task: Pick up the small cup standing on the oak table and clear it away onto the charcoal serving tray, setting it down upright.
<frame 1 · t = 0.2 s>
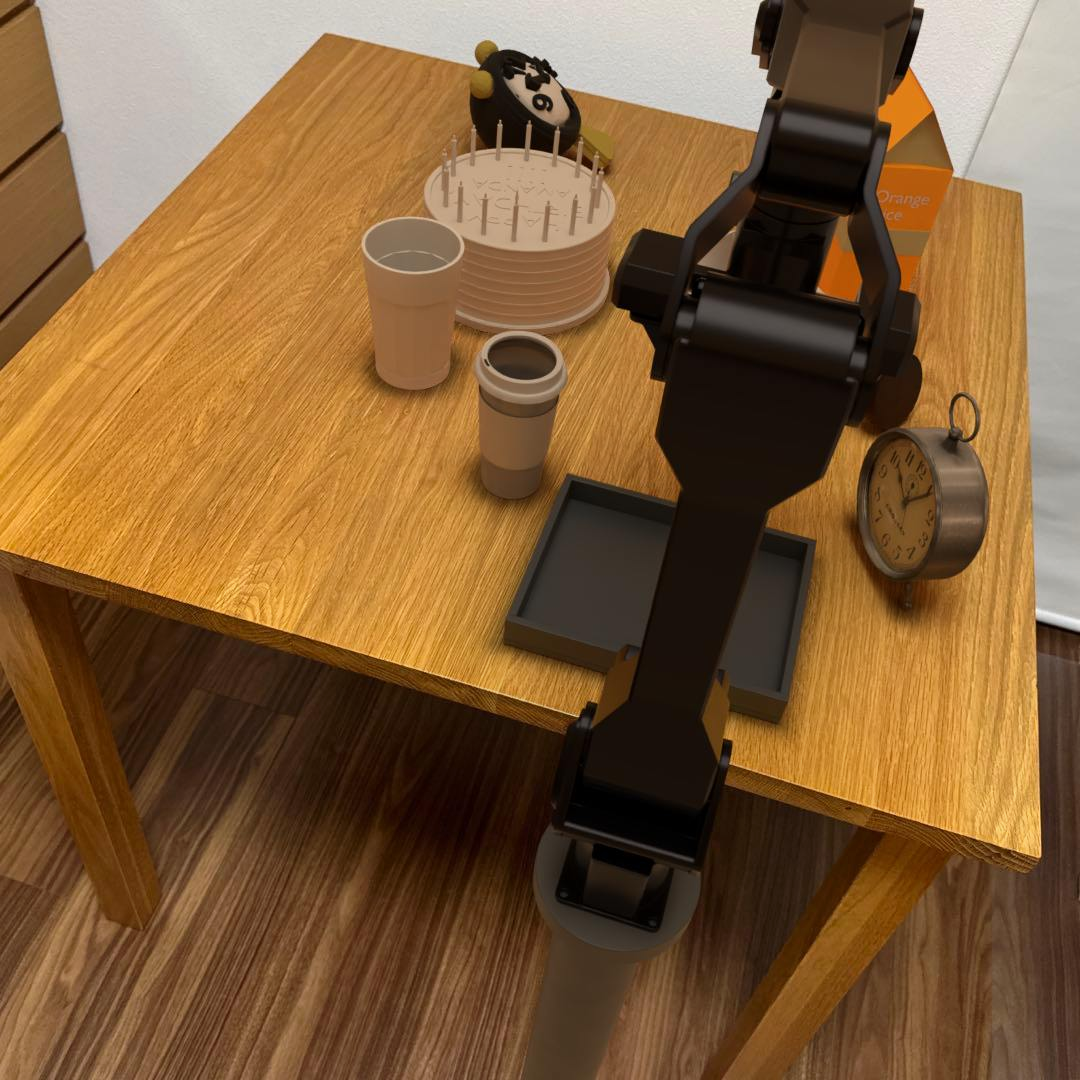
hand: (737, 402, 77), 12 cm above the table, tool pointing down, fingers open, 9 cm apart
cake: (513, 279, 107), on the table
cup: (413, 367, 96), on the table
alarm clock: (894, 565, 85), on the table
alarm clock 2: (531, 160, 122), on the table
orange juice: (852, 283, 111), on the table
cup 2: (510, 480, 88), on the table
tray: (662, 601, 81), on the table
light fixture: (785, 387, 99), on the table
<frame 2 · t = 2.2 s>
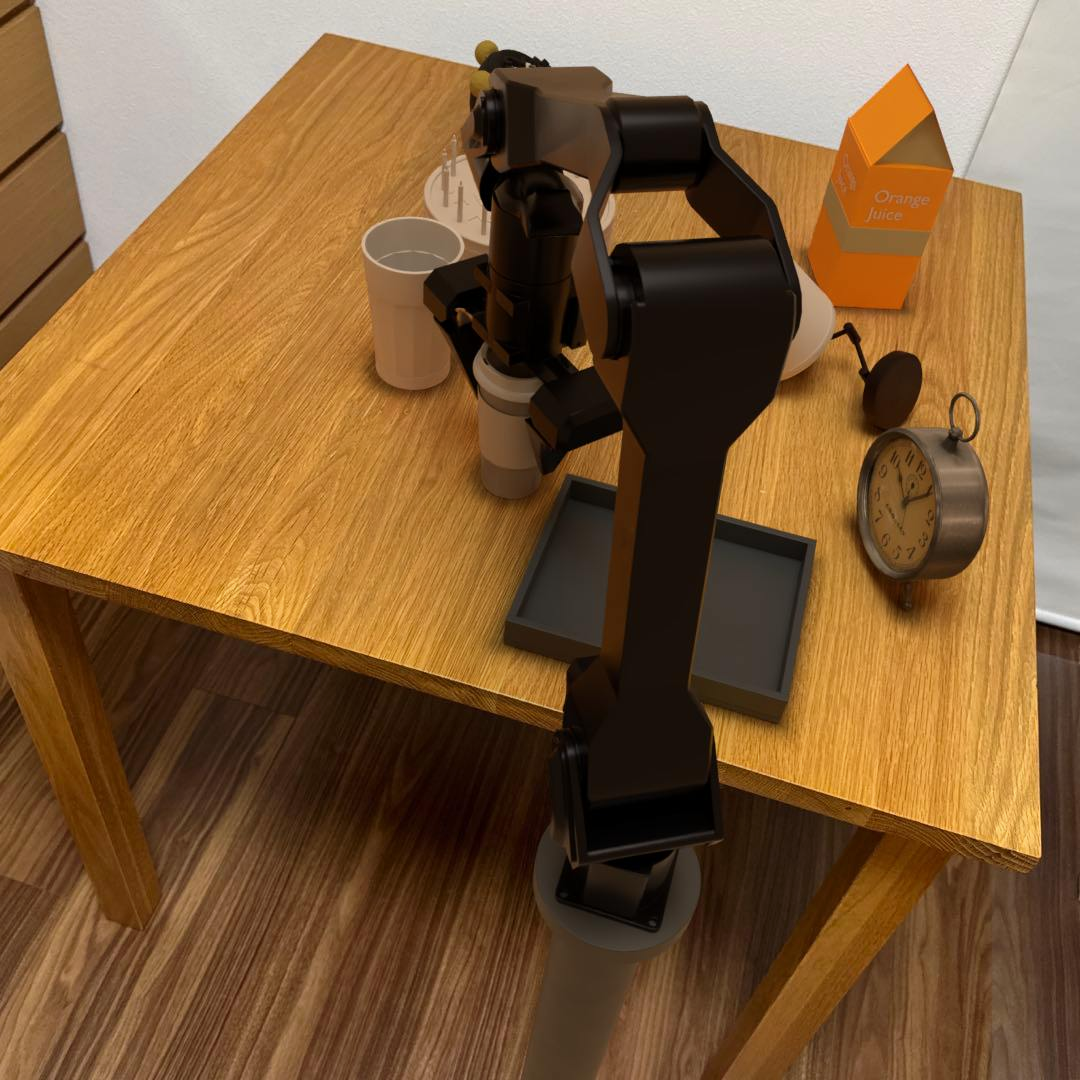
hand: (515, 435, 85), 4 cm above the table, tool pointing down
cup 2: (510, 480, 88), on the table, touching gripper
everything else where it was.
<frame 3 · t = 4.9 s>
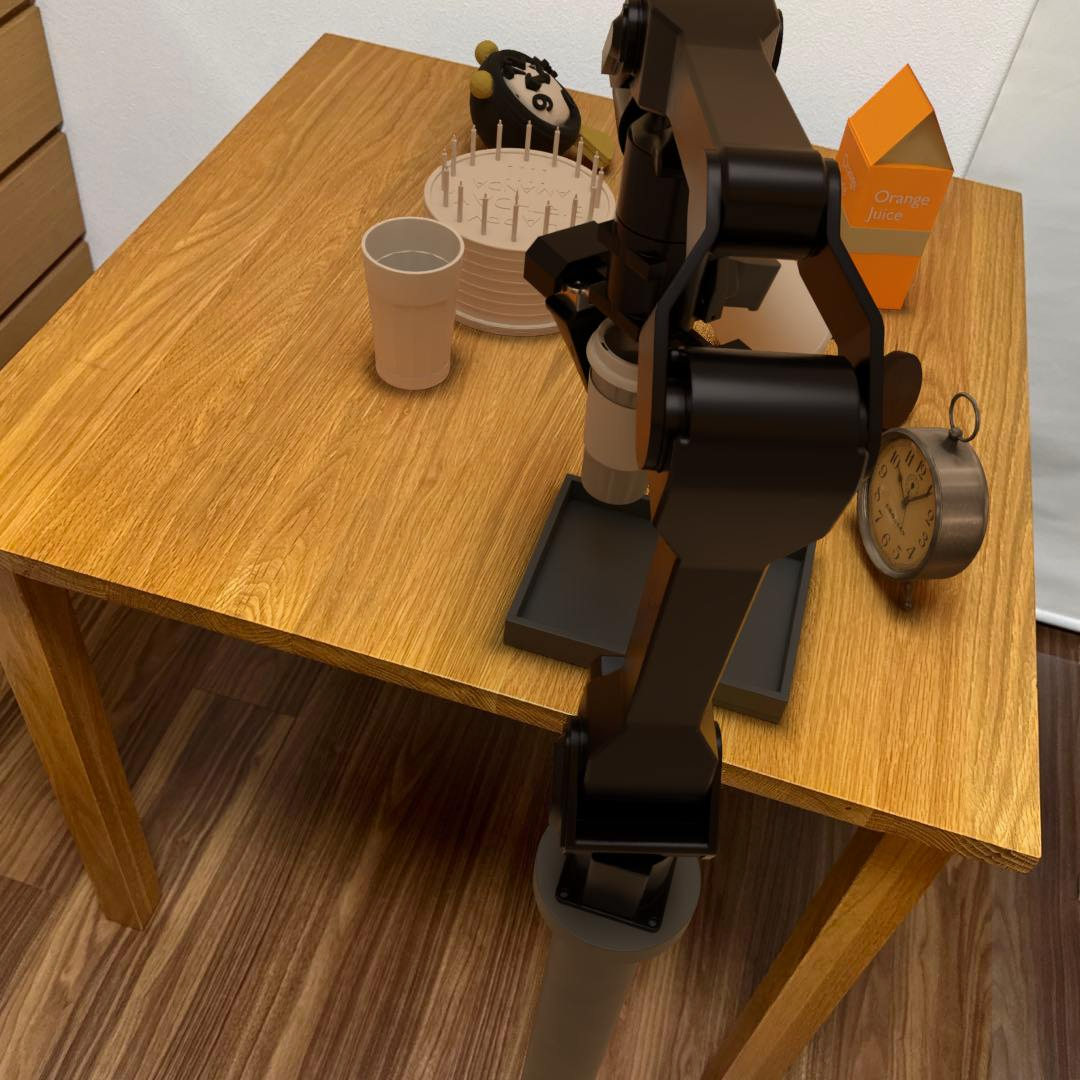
hand: (627, 428, 74), 13 cm above the table, tool pointing down, fingers closed on cup 2, 6 cm apart
cup 2: (613, 483, 78), point 8 cm above the table, touching gripper
everything else where it was.
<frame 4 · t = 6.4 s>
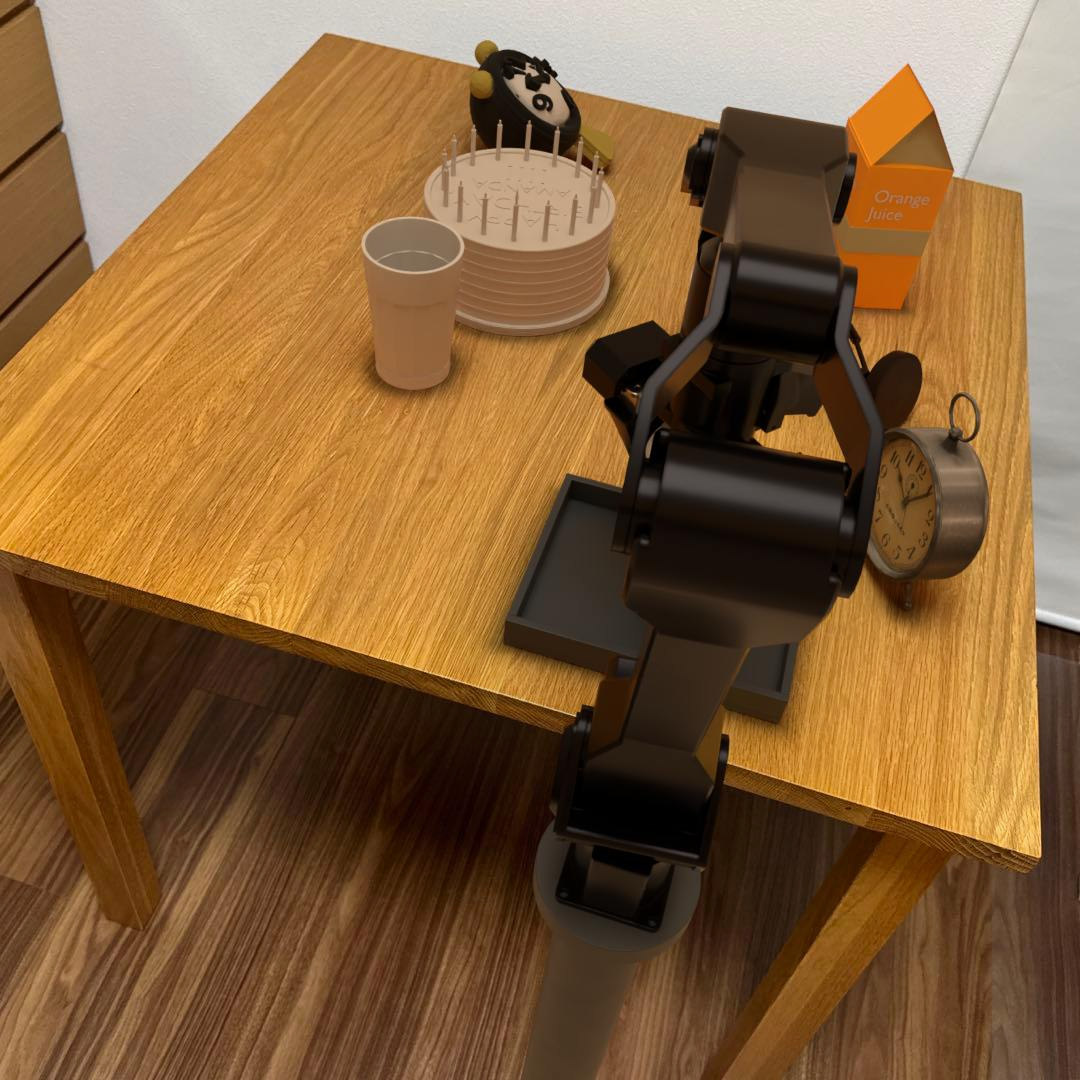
hand: (682, 524, 75), 8 cm above the table, tool pointing down, fingers closed on cup 2, 6 cm apart
cup 2: (666, 573, 78), point 3 cm above the table, touching gripper
everything else where it was.
when the fingers open (5 cm above the table, at t = 7.5 s): cup 2 stays where it is, resting on tray.
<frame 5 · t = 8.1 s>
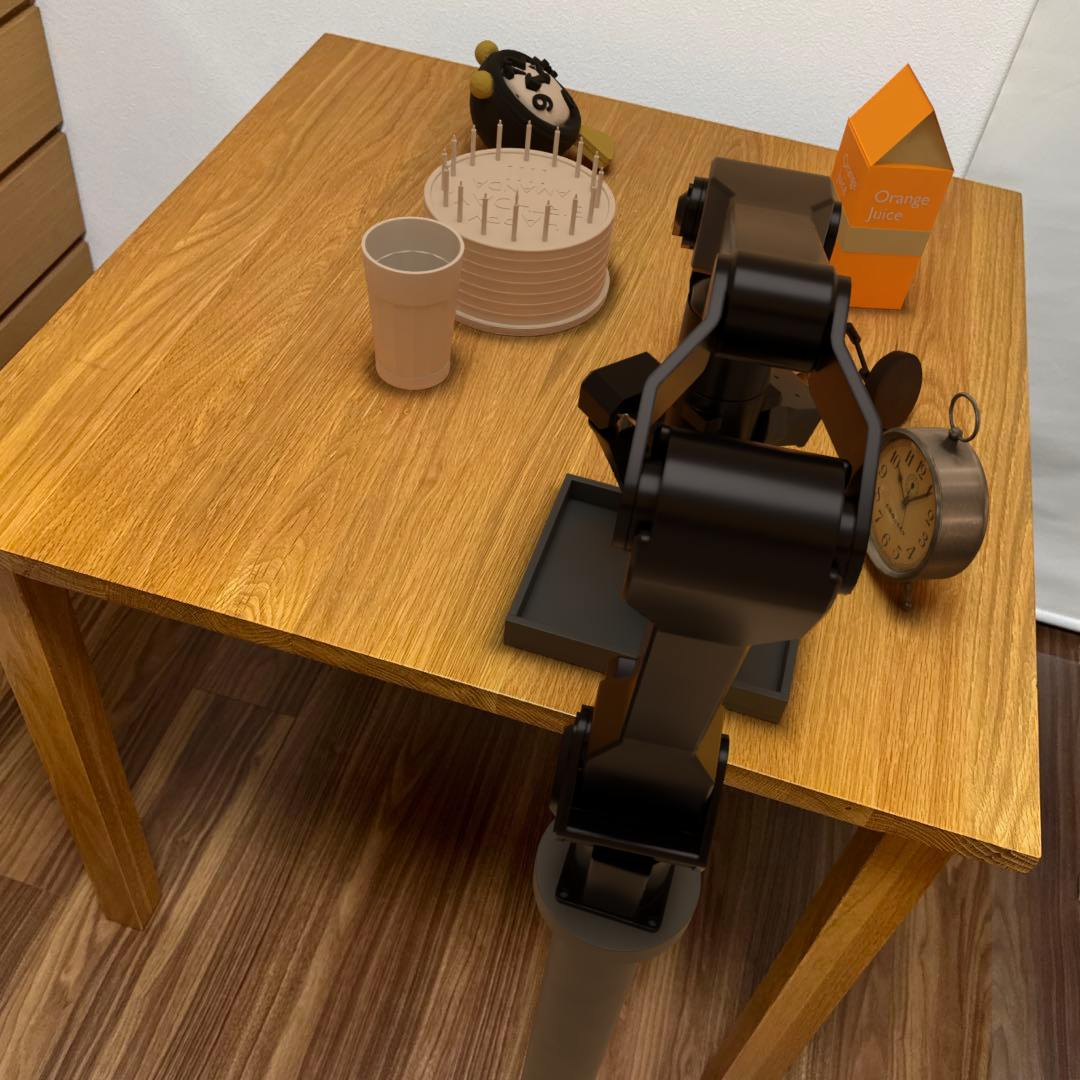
hand: (675, 550, 77), 5 cm above the table, tool pointing down, fingers open, 9 cm apart
cup 2: (660, 598, 80), resting on tray
everything else where it was.
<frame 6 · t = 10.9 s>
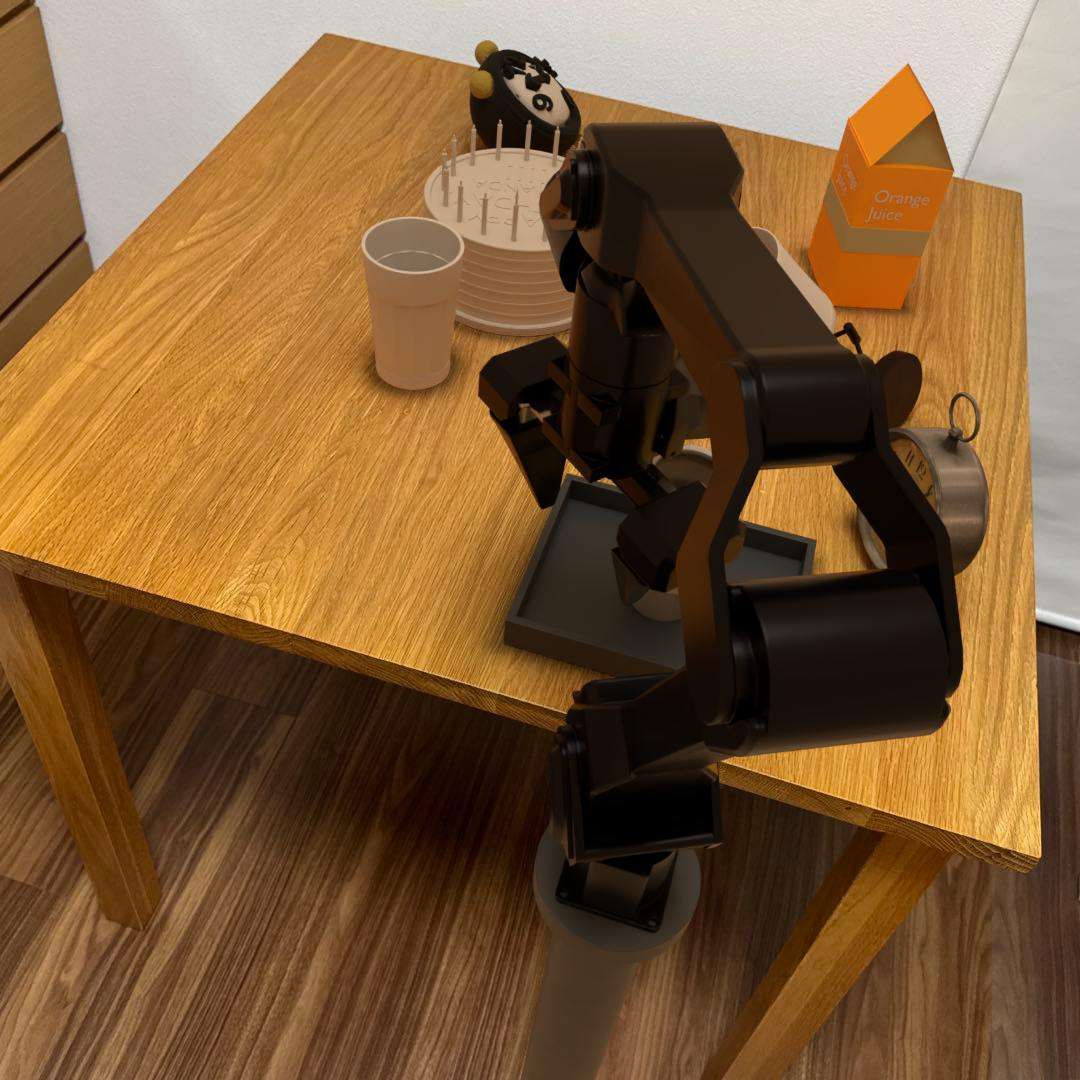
hand: (587, 552, 70), 9 cm above the table, tool pointing down, fingers open, 9 cm apart
nothing on the table moved.
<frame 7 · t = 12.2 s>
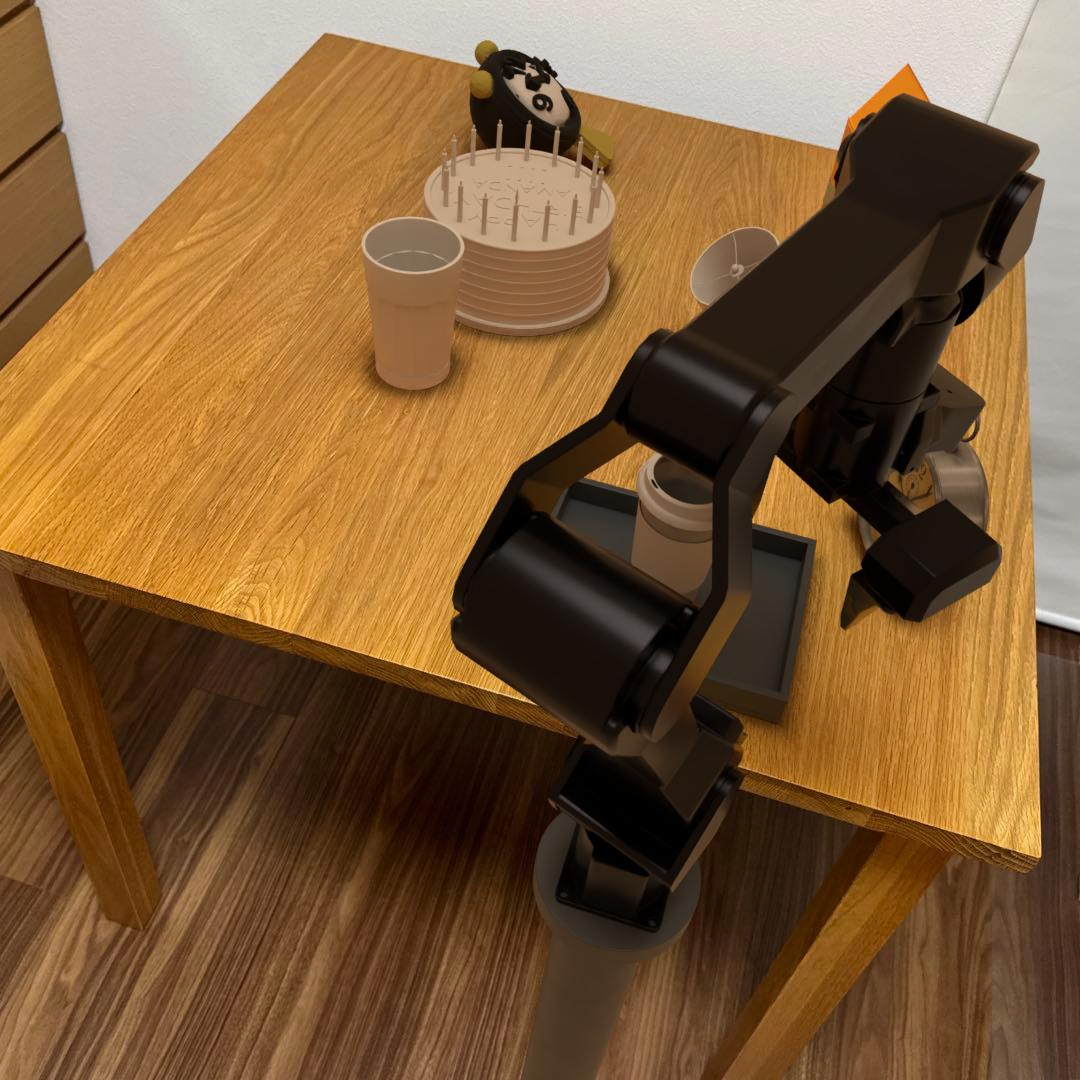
hand: (794, 571, 66), 13 cm above the table, tool pointing down, fingers open, 9 cm apart
nothing on the table moved.
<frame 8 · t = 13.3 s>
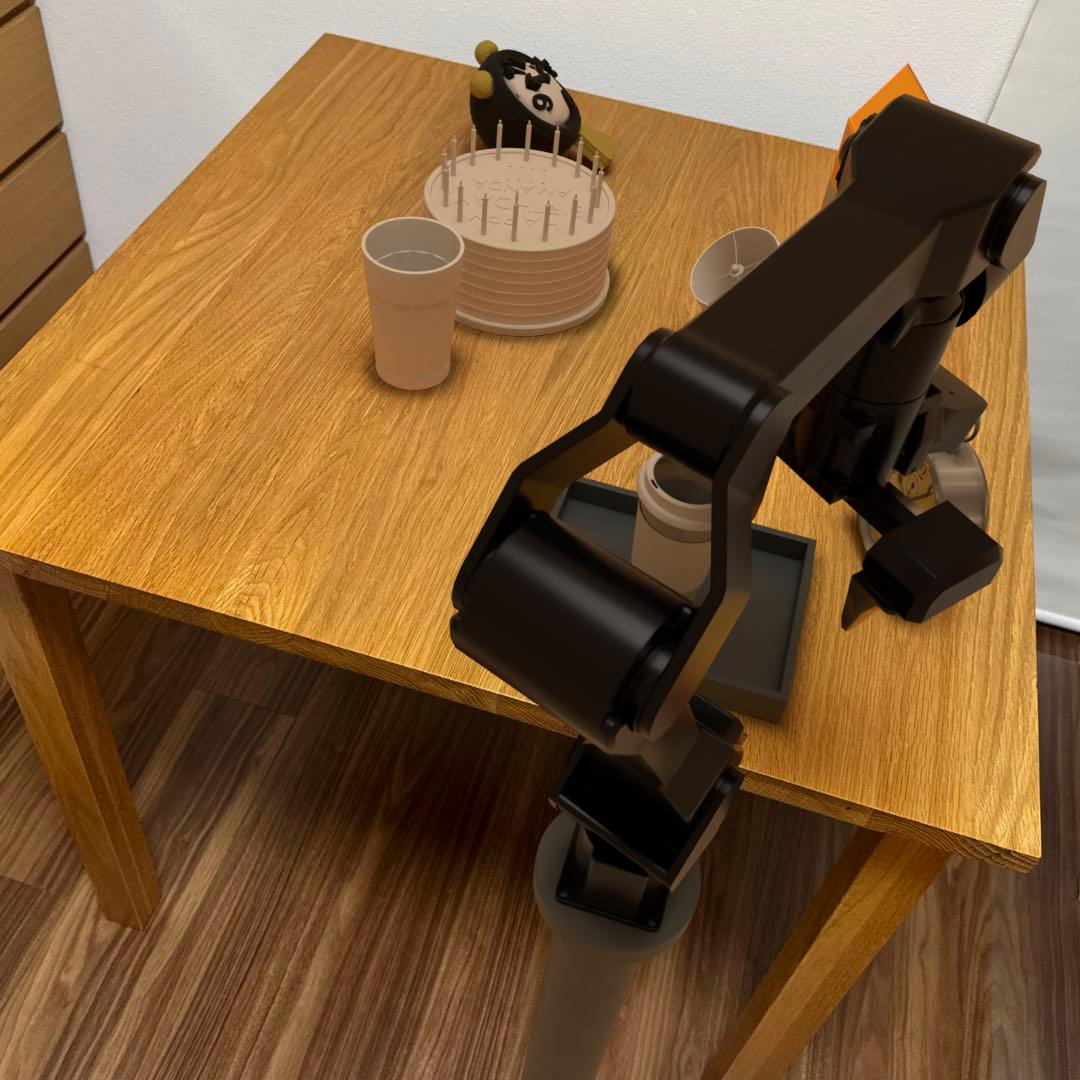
hand: (795, 572, 66), 13 cm above the table, tool pointing down, fingers open, 9 cm apart
nothing on the table moved.
at the end: cup 2 inside the target area in the tray (0.2 cm from its centre), point 0.4 cm above the tray's base; cup 2 tilted 0°; cake moved 0.2 cm from its start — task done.
